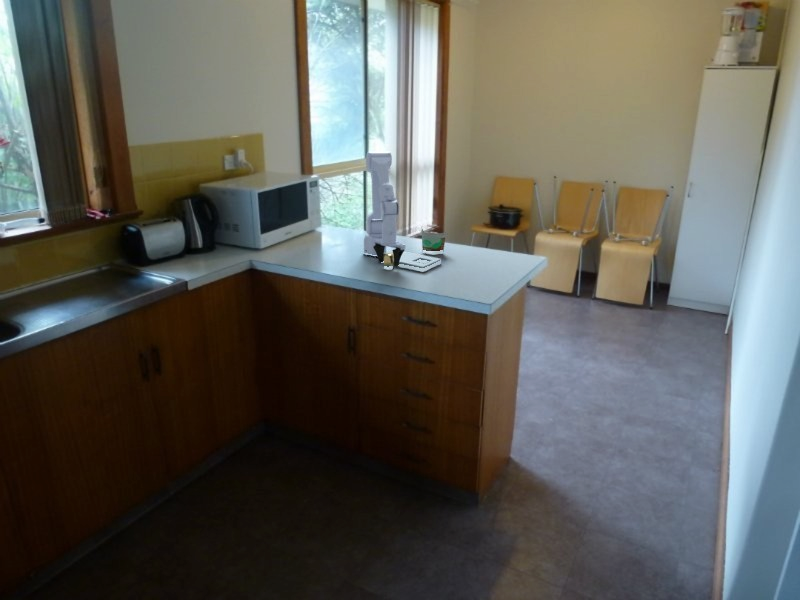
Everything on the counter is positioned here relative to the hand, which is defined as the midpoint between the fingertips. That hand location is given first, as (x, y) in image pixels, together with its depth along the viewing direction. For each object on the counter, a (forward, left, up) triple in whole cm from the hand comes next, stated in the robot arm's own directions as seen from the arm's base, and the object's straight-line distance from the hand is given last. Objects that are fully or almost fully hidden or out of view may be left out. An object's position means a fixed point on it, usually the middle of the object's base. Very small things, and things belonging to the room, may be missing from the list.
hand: (388, 264), depth 238 cm
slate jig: (+3, +11, -2) cm, 12 cm away
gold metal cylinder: (0, 0, -2) cm, 2 cm away
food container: (+2, +29, -2) cm, 29 cm away
